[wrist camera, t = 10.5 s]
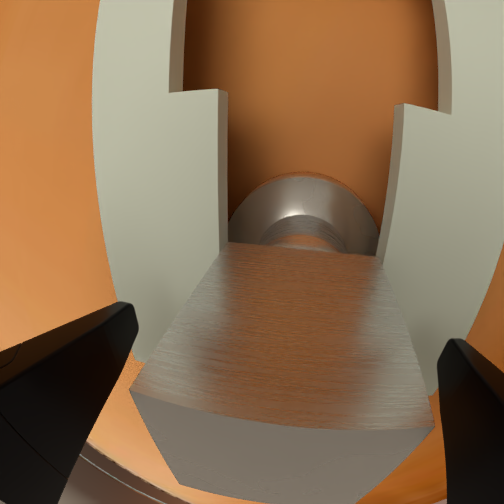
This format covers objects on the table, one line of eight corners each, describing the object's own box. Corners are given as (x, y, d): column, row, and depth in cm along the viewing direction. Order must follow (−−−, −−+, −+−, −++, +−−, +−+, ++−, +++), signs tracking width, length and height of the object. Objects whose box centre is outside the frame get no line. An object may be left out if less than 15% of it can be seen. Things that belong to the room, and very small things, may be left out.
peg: (385, 181, 11) (542, 354, 2) (359, 310, 14) (378, 514, 5) (231, 167, 12) (37, 297, 3) (232, 296, 15) (147, 482, 6)
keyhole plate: (162, -47, 7) (120, -79, 4) (452, -33, 5) (485, -64, 2) (168, 312, 16) (135, 360, 12) (415, 340, 14) (432, 395, 10)
